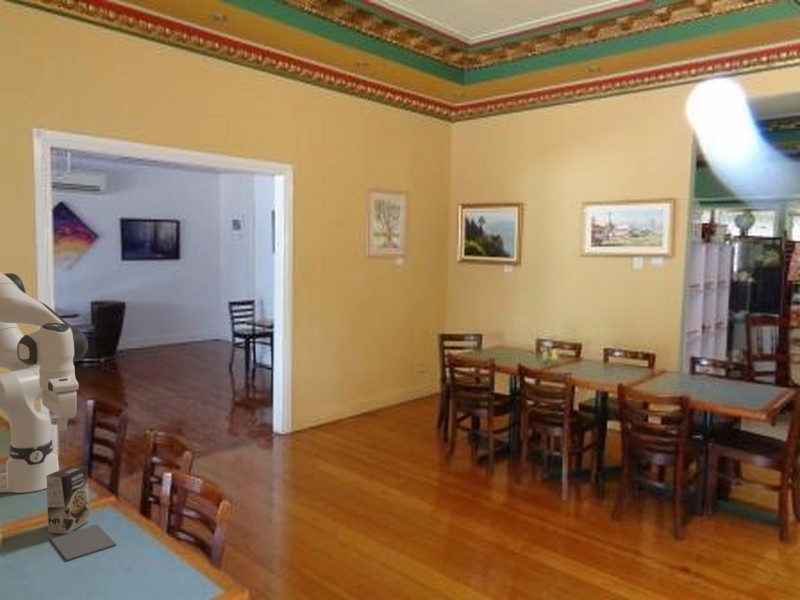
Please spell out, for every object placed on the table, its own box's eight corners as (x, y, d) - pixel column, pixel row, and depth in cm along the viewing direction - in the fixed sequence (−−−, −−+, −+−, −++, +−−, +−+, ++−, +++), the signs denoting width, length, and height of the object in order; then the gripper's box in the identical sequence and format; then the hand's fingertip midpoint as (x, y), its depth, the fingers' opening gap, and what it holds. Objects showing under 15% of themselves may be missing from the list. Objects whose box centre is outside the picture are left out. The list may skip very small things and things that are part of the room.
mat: (50, 539, 162) (50, 537, 162) (97, 525, 170) (97, 524, 170) (66, 561, 151) (66, 559, 151) (116, 545, 160) (116, 543, 160)
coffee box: (67, 534, 164) (65, 476, 163) (47, 532, 165) (44, 475, 164) (91, 520, 173) (88, 465, 172) (71, 519, 174) (69, 464, 173)
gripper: (35, 375, 176) (36, 421, 177) (55, 388, 161) (56, 438, 163) (59, 372, 180) (60, 417, 182) (80, 385, 166) (81, 433, 167)
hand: (58, 427), depth 172 cm, fingers open, 6 cm apart
